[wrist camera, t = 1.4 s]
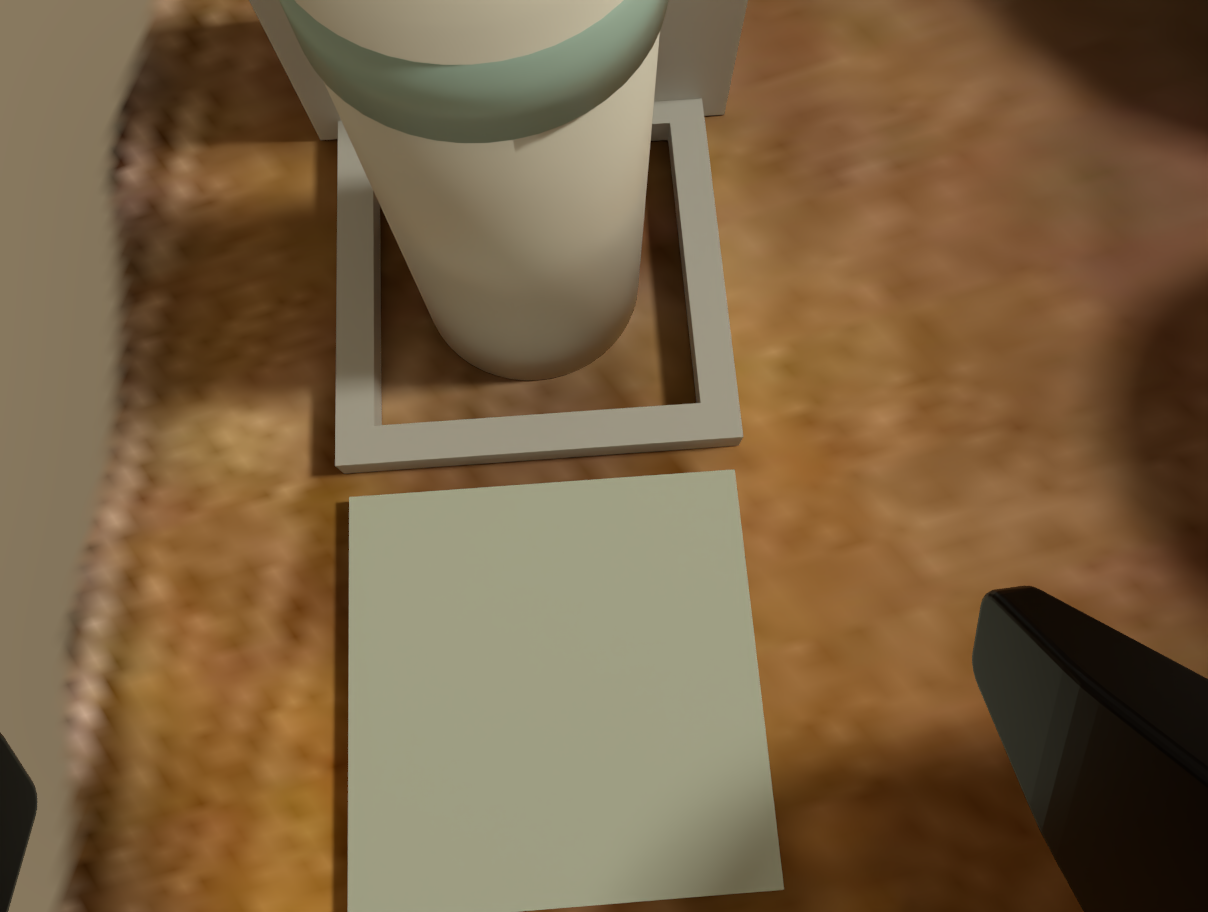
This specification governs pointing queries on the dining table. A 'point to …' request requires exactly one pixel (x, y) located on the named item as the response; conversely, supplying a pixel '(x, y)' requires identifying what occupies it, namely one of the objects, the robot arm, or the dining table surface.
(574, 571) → the mat
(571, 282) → the cartridge
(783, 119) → the dining table surface
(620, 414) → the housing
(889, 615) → the dining table surface
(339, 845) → the dining table surface
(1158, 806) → the robot arm
